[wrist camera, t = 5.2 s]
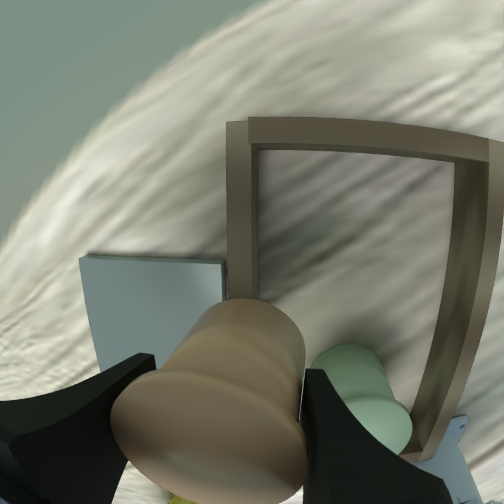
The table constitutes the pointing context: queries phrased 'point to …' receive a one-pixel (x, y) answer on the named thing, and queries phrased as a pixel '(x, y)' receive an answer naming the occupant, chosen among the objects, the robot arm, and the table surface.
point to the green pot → (367, 393)
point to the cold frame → (461, 244)
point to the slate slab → (146, 302)
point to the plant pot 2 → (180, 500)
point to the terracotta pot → (222, 410)
